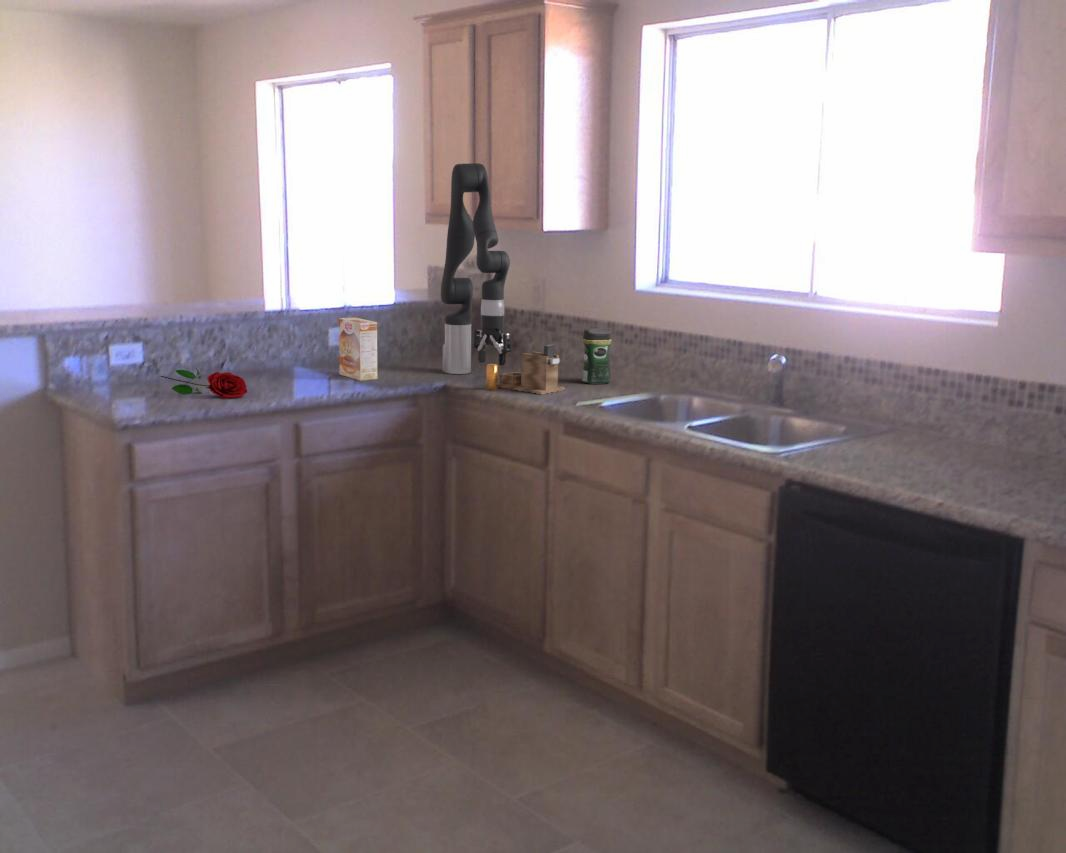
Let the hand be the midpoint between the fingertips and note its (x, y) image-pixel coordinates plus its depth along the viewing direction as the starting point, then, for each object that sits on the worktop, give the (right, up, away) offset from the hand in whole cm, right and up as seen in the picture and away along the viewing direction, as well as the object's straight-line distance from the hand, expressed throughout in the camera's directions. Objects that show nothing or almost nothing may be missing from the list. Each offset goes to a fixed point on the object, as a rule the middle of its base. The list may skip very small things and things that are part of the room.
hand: (491, 363), depth 366 cm
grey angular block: (+16, +1, 0) cm, 16 cm away
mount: (+11, -8, +5) cm, 15 cm away
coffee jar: (+35, -6, +20) cm, 40 cm away
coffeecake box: (-46, -4, +20) cm, 50 cm away
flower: (-88, -11, -19) cm, 91 cm away
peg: (0, -8, +2) cm, 8 cm away
